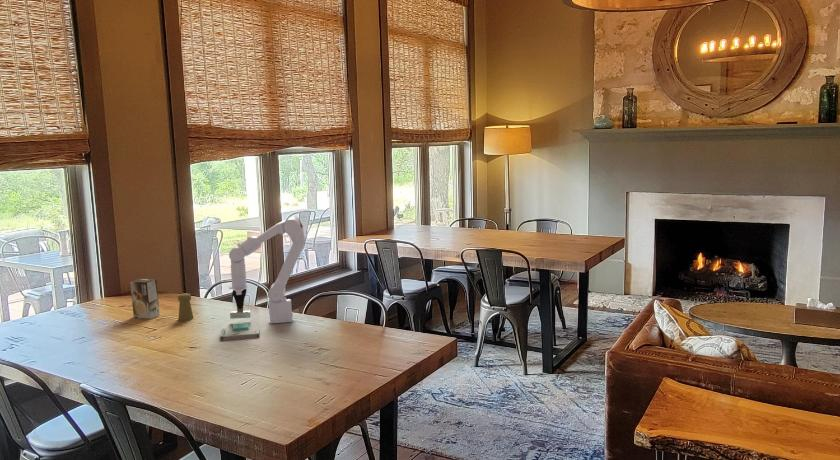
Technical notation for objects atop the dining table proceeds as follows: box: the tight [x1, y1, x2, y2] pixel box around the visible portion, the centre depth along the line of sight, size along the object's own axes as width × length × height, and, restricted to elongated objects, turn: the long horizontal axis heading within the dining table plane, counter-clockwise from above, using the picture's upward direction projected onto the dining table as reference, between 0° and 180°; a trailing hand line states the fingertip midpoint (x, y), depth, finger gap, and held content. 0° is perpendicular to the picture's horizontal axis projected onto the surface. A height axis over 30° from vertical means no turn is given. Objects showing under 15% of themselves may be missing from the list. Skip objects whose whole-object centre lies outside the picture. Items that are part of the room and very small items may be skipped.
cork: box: [177, 292, 194, 322], centre depth 268 cm, size 6×6×11 cm
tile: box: [232, 322, 250, 332], centre depth 256 cm, size 6×6×2 cm
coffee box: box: [130, 278, 160, 320], centre depth 273 cm, size 9×6×16 cm
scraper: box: [229, 307, 251, 320], centre depth 262 cm, size 8×2×8 cm, turn 104°
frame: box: [219, 325, 260, 342], centre depth 247 cm, size 14×10×2 cm
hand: (240, 307), depth 262 cm, fingers closed on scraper, 2 cm apart
